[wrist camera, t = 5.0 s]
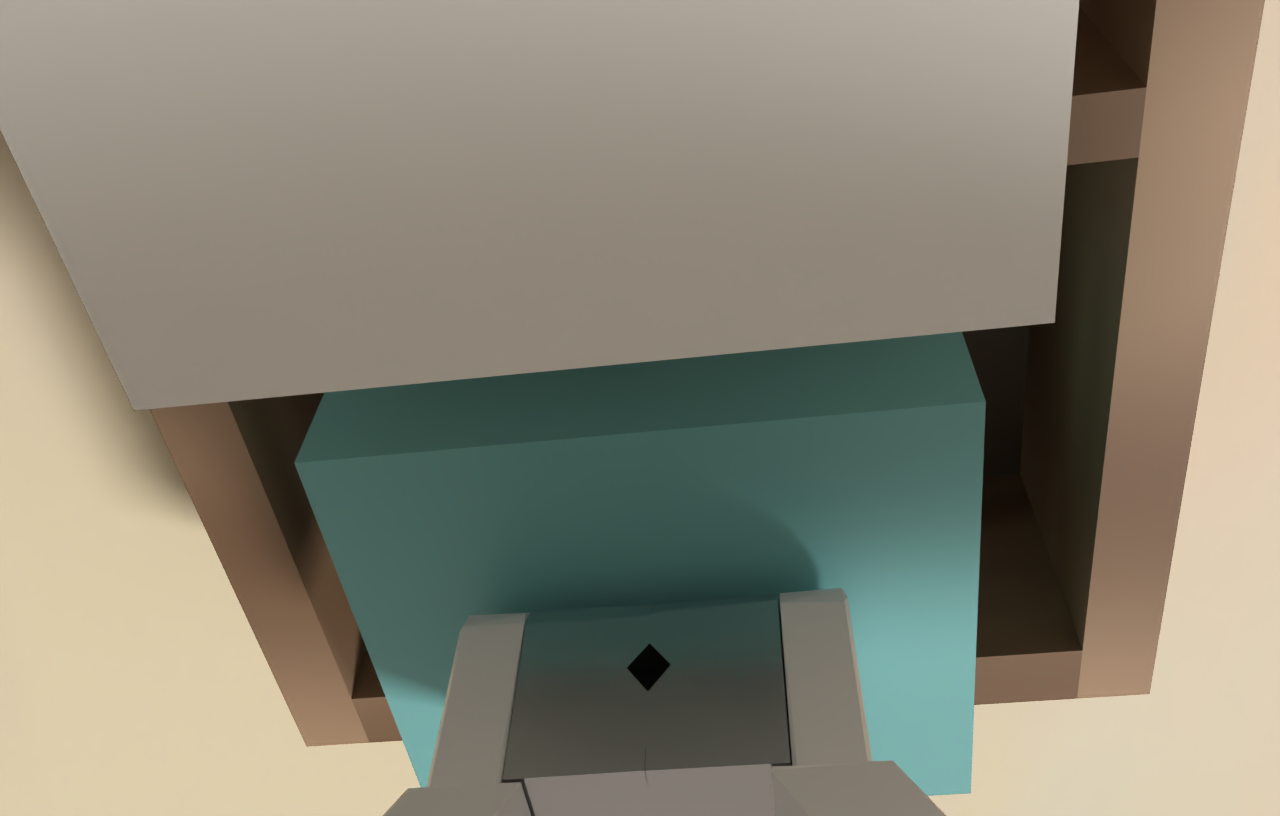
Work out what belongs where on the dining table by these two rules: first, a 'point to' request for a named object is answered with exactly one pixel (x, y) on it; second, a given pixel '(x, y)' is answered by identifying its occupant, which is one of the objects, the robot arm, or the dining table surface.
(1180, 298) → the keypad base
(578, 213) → the white block
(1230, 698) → the dining table surface
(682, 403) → the teal block
